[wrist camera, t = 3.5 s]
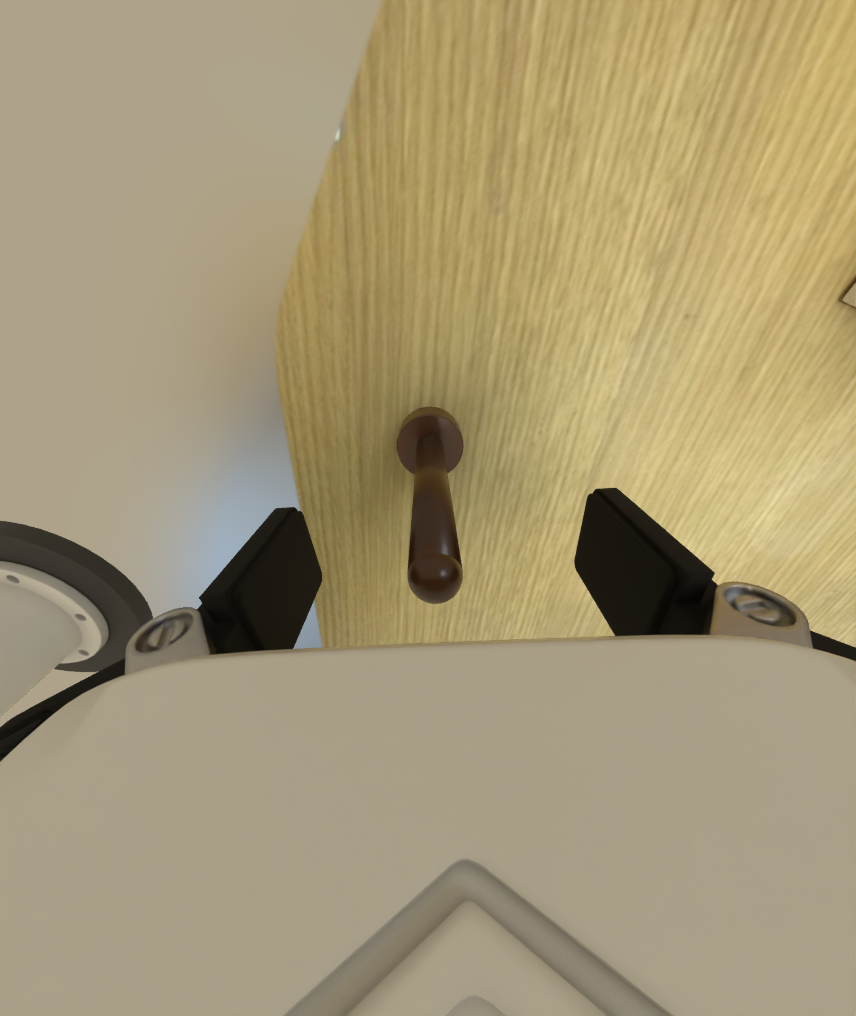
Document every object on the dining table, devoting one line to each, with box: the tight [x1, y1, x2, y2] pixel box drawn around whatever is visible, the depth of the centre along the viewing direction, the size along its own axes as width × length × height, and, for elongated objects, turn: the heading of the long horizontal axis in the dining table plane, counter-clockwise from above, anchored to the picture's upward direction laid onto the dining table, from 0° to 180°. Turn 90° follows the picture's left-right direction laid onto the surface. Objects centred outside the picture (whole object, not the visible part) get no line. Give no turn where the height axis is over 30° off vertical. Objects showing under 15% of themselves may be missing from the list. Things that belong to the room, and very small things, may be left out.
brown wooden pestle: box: [397, 407, 463, 604], centre depth 14 cm, size 4×4×14 cm
